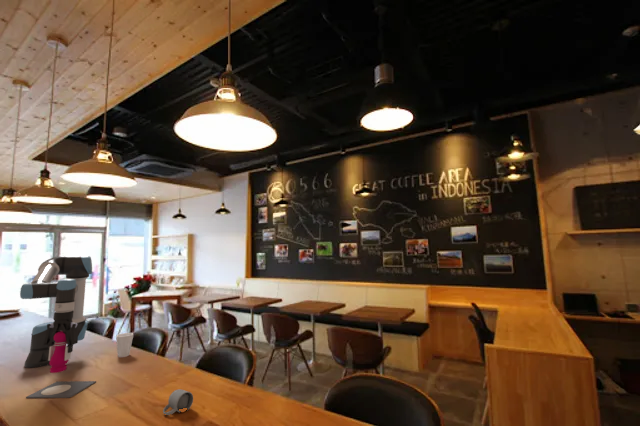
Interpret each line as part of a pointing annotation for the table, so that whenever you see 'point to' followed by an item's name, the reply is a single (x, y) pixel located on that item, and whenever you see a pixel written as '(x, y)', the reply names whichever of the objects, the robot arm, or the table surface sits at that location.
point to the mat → (62, 389)
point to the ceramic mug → (179, 401)
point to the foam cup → (124, 344)
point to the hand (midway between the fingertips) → (59, 359)
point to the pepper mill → (59, 354)
